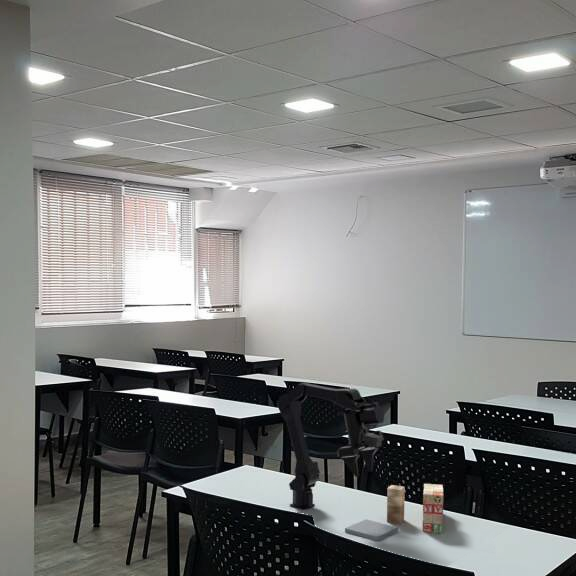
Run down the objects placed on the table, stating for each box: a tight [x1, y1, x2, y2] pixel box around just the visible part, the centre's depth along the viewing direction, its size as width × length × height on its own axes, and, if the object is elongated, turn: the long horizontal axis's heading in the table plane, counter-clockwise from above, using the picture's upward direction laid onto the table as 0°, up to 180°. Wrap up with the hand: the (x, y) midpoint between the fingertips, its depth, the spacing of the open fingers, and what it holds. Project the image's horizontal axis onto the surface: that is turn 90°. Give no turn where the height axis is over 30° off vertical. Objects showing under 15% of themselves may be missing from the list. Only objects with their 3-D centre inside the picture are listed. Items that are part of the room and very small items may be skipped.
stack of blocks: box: [422, 483, 444, 534], centre depth 237 cm, size 21×6×12 cm, turn 168°
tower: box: [386, 484, 406, 525], centre depth 238 cm, size 4×4×11 cm
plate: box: [344, 518, 399, 541], centre depth 227 cm, size 12×12×1 cm
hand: (363, 473), depth 239 cm, fingers open, 9 cm apart
